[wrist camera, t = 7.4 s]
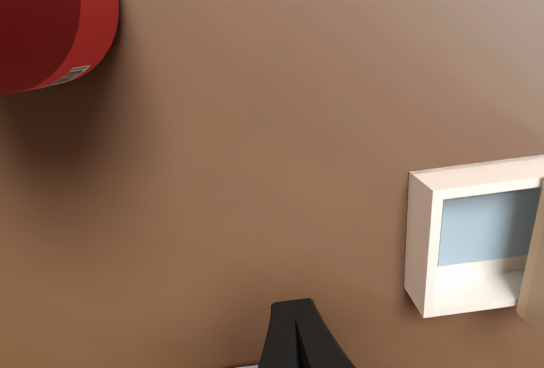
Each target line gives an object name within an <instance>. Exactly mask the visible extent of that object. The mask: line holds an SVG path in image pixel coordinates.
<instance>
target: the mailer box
mask: <svg viewBox="0 0 544 368" xmlns="http://www.w3.org/2000/svg"><path fill="white" fill-rule="evenodd" d="M543 182H544V154H542V155H534V156H526V157H518V158H510V159H503V160H495V161H487V162H479V163H472V164H464V165H456V166H448V167H441V168H433V169H425V170H417V171H409V187H408V209H407V230H406V252H405V274H404V288H405V290H406V291H407V293H408V294H409V296H410V298H411V299H412V301H413V302H414V304H415V305H416V307H417V309H418V310H419V312H420V313H421V315H422V317H423V318H427V317H435V316H442V315H450V314H457V313H465V312H472V311H480V310H487V309H495V308H502V307H510V306H517V304H518V299H519V294H520V289H521V285H522V280H523V275H524V271H525V266H526V261H527V257H528V252H529V247H530V243H531V238H532V233H533V228H534V224H535V219H536V214H537V210H538V205H539V200H540V196H541V191H542V186H543Z"/></svg>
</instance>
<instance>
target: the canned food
mask: <svg viewBox="0 0 544 368" xmlns="http://www.w3.org/2000/svg"><path fill="white" fill-rule="evenodd" d="M118 20H119V0H0V97H4V96H8V95H13V94H17V93H22V92H26V91H31V90H35V89H40V88H44V87H49V86H53V85H58V84H62V83H67V82H69V81H72V80H75V79H77V78H80V77H82V76H83V75H85V74H86V73H88V72H89V71H91V70H92V69H93V68H94V67H95V66H96V65H97V64H98V63H99V62H100V61H101V60H102V59H103V58H104V56H105V54H106V53H107V51H108V49H109V48H110V46H111V44H112V43H113V40H114V37H115V34H116V31H117V27H118Z"/></svg>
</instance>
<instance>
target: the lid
mask: <svg viewBox="0 0 544 368" xmlns="http://www.w3.org/2000/svg"><path fill="white" fill-rule="evenodd" d="M516 313H517V314H518V315H519V316H520V317H521V318H522V319H523V320H524V321H525V322H526V323H527V324H528V325H529V326H530V327H531V328H532V329H533V330H534V331H535V332H536V333H537V334H538V335H539V336H540V337H541V338H542V339H543V340H544V182H543V186H542V191H541V196H540V200H539V205H538V210H537V214H536V219H535V224H534V228H533V233H532V238H531V243H530V247H529V252H528V257H527V261H526V266H525V271H524V275H523V280H522V285H521V289H520V294H519V299H518V304H517V308H516Z"/></svg>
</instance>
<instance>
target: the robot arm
mask: <svg viewBox="0 0 544 368" xmlns="http://www.w3.org/2000/svg"><path fill="white" fill-rule="evenodd" d="M237 368H356V367H355V366H354V365H353V364H352V362H351V361H350V360H349V358H348V357H347V356H346V354H345V353H344V352H343V350H342V349H341V347H340V346H339V344H338V343H337V341H336V340H335V339H334V337H333V336H332V334H331V333H330V331H329V329H328V328H327V326H326V325H325V323H324V321H323V320H322V318H321V316H320V314H319V312H318V310H317V308H316V306H315V304H314V301H313V300H312V299H310V298H305V299H298V300H290V301H283V302H275V303H273V304H272V305H271V316H270V323H269V328H268V333H267V337H266V341H265V345H264V348H263V352H262V356H261V359H260V362H259V365H252V366H245V367H237Z"/></svg>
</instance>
